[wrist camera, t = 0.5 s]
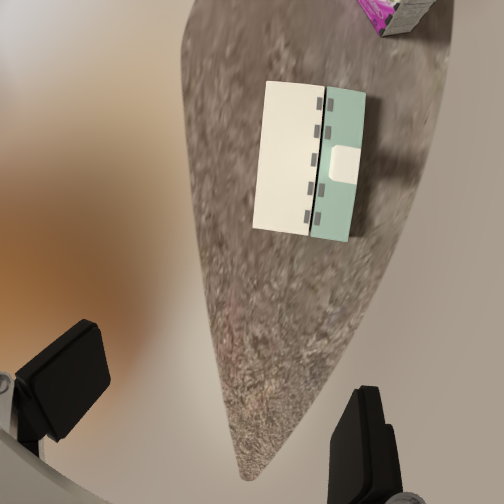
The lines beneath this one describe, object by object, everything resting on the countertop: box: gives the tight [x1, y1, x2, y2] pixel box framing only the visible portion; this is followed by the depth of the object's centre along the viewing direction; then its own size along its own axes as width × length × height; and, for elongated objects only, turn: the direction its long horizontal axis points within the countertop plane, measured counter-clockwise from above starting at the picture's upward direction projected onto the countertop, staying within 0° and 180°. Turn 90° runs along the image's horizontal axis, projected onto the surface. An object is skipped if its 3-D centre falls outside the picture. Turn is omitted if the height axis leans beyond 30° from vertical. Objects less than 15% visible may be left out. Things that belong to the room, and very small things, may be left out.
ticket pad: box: [253, 81, 324, 235], centre depth 30 cm, size 16×6×2 cm, turn 174°
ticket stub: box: [311, 86, 366, 242], centre depth 26 cm, size 16×4×8 cm, turn 174°
